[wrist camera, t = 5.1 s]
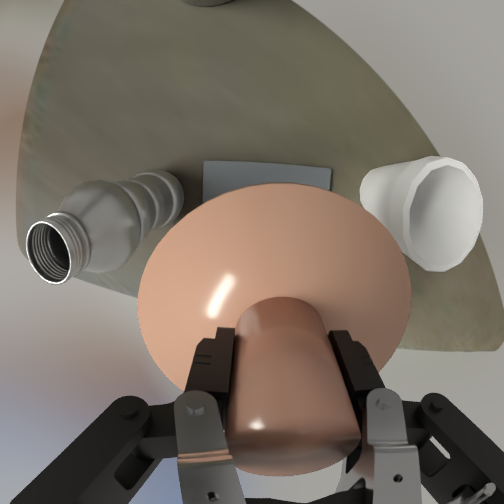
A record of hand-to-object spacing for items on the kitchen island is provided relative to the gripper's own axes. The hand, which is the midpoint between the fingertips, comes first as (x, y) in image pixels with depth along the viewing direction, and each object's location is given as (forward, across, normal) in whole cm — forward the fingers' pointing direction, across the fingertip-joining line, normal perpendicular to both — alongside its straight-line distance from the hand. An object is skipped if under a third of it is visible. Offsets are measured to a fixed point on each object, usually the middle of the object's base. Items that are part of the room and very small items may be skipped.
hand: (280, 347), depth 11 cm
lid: (+2, 0, 0) cm, 2 cm away
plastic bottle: (+22, +12, -3) cm, 25 cm away
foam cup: (+22, -14, -5) cm, 26 cm away
